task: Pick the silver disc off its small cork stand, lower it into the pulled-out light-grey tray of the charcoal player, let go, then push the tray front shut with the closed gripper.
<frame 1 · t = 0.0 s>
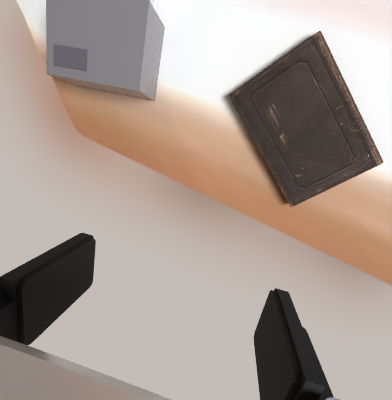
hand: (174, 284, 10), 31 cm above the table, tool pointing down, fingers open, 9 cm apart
housing: (117, 58, 38), on the table
hardcover book: (300, 129, 36), on the table
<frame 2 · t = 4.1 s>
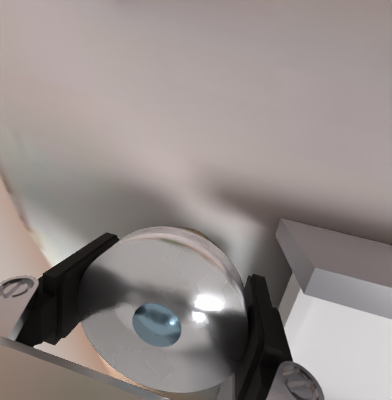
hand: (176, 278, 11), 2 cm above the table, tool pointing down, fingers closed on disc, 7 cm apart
disc: (169, 296, 9), point 4 cm above the table, touching gripper, stand
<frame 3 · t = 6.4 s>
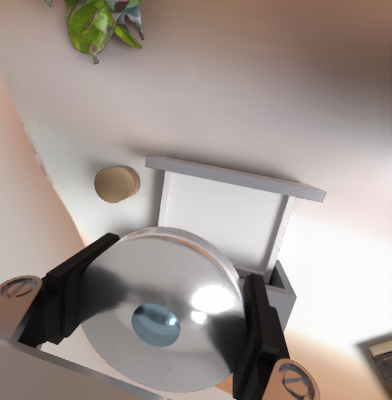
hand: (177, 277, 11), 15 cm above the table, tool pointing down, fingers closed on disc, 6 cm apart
disc: (168, 296, 9), point 16 cm above the table, touching gripper
housing: (205, 283, 28), on the table
passion flower: (124, 8, 22), on the table
stand: (125, 181, 26), on the table
tray: (219, 224, 22), point 3 cm above the table, slide at 9.0 cm
when the fingers open (2 cm above the table, at t = 8.7 s): disc drops 2 cm, resting on tray.
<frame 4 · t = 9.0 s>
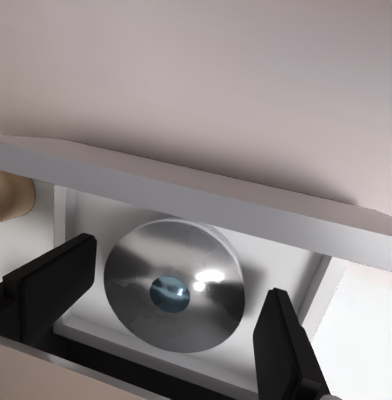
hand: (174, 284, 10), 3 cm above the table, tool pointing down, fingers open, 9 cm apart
disc: (178, 274, 11), point 2 cm above the table, touching tray
housing: (160, 374, 16), on the table
stand: (10, 188, 14), on the table
tray: (171, 294, 10), point 3 cm above the table, slide at 9.0 cm, touching disc
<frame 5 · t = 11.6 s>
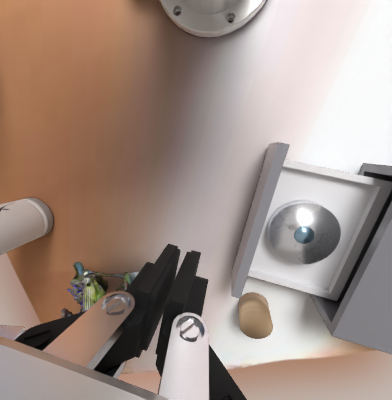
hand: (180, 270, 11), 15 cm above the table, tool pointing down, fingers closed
disc: (299, 229, 23), point 2 cm above the table, touching tray
housing: (387, 246, 23), on the table
travel mug: (38, 217, 31), on the table
passion flower: (128, 277, 31), on the table
stand: (253, 304, 28), on the table
tray: (306, 234, 22), point 3 cm above the table, slide at 9.0 cm, touching disc
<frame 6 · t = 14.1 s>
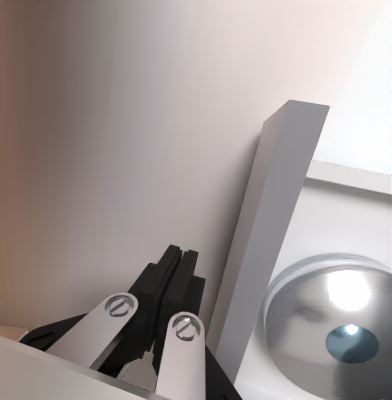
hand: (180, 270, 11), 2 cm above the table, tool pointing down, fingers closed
disc: (333, 314, 10), point 2 cm above the table, touching tray
tray: (355, 338, 9), point 3 cm above the table, slide at 8.1 cm, touching disc, gripper
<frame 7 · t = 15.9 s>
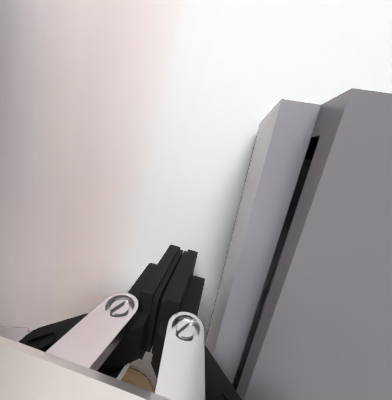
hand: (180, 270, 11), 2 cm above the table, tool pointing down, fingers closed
housing: (342, 298, 12), on the table
stand: (130, 386, 17), on the table
tray: (354, 338, 9), point 3 cm above the table, slide at -0.2 cm, touching disc, gripper, housing
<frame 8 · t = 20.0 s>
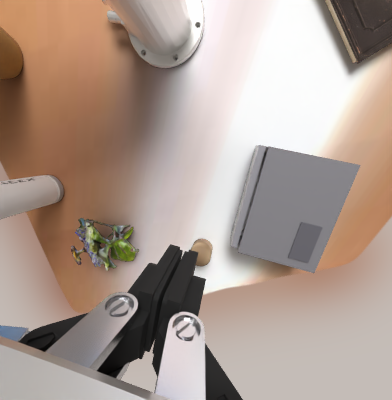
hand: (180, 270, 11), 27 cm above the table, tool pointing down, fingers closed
plant pot: (8, 59, 39), on the table
housing: (282, 202, 36), on the table
travel mug: (53, 189, 44), on the table
passion flower: (117, 232, 44), on the table
stand: (202, 247, 41), on the table
tray: (279, 204, 33), point 3 cm above the table, slide at 0.0 cm, touching disc
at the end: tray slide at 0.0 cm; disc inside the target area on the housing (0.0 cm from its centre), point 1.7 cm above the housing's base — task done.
